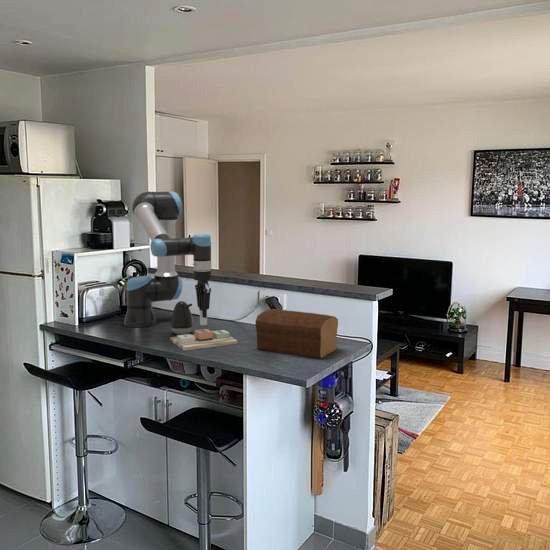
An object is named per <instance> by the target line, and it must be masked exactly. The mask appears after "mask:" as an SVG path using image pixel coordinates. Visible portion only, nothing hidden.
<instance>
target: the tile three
mask: <svg viewBox="0 0 550 550" xmlns="http://www.w3.org/2000/svg"><path fill="white" fill-rule="evenodd" d="M211 331H212V332H213V338H215V339H224V338H230V337H231V334H230V332H229V331H227V330H225V329H220V330H211Z"/></svg>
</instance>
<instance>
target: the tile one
mask: <svg viewBox="0 0 550 550" xmlns="http://www.w3.org/2000/svg"><path fill="white" fill-rule="evenodd" d="M193 335H194V334H191V333H188V334H186V335H178V334H176V337H177V342H179V343H180V344H185V343H193V342H195V337H194V336H193Z"/></svg>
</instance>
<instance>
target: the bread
mask: <svg viewBox="0 0 550 550" xmlns="http://www.w3.org/2000/svg"><path fill="white" fill-rule="evenodd" d="M338 327H339V319H338V318H337V317H336V316H334V315H329V314H322V313H321V314H320V313H315V312H306V311H305V312H304V311H296V310H287V309H286V310H285V309H280V308H279V309H277V308H271V309H265V310H264V311H262V312H260V313H259V314H258V315H257V317H256V319H255V329H256V330H255V332H256V345H257V347H256V349H257V350H262V351H269V352H274V353H281V354H286V355H287V354H288V355H293V356H300V357H301V356H302V357H307V358H313V359H323V358H325V357H327V356H328V355H330V354H331V353H333V352H334V351H336V350H337V335H338Z"/></svg>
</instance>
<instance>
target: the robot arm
mask: <svg viewBox="0 0 550 550" xmlns="http://www.w3.org/2000/svg"><path fill="white" fill-rule="evenodd" d="M182 203H183V202H182V199H181V197H180V195H179V194H178V192H175V191H144V192H141V193H139V194H138V195H137V196H136V197H135V198H134V200H133V202H132V205H131V212H132V214H133V216H134V218H135V219H136V220H138V221H139V222H140V223H141V224H140V225H142V227H143V229H144V230H145V232H146V234H147V235H148V238H149V239H150V240H151V241H150V245H149V246H150V247H149V248H150V251H151V255H152V256H154V257H156V264H157V265H156V266H157V267H156V272H154V273H153V275H154V277H153V278H152V277H151V275H140V276H139V275H138V276H135V277H131V278H128V279H127V282H126V301H127V303H126V305H127V310H126V314H125V316H124V319H123V320H124V321H123V324H124V326H125V327H129V328H145V327H153V326H154V325H156V323H157V318H156V316H155V313H154V310H153V307H152V305H153V303H155V302H165V301H174V300H177V299H179V298H180V296H181V294H182V292H183V291H182V290H183V281H182V278H181V277H180V276H179V273H178V272H177V271H176V267H175V266H176V262H175V261H176V260H175V259H176V257H175V256H193V257H192V258H193V259H192V260H193V263H192V266H193V270H194V271H193V280H195V281H196V282H197V283H196V284H195V285H194V289H195V293H196V294H195V295H196V304H197V308H198V310H199V326H204V325H205V326H206V325H208V310H209V309H210V305H211V303H210V301H211V292H212V288H211V287H210V285H209V280H212V271H211V270H212V239H211V237H212V236H211V234H209V233H208V234H205V233H196V234H193V236H188V237H176V236H175V234H176V233H175V232H176V230H175V228H176V222H177V221H179V220H178V219H179V217H180V216H181V215H182V213H183V204H182ZM175 237H176V238H175Z"/></svg>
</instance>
